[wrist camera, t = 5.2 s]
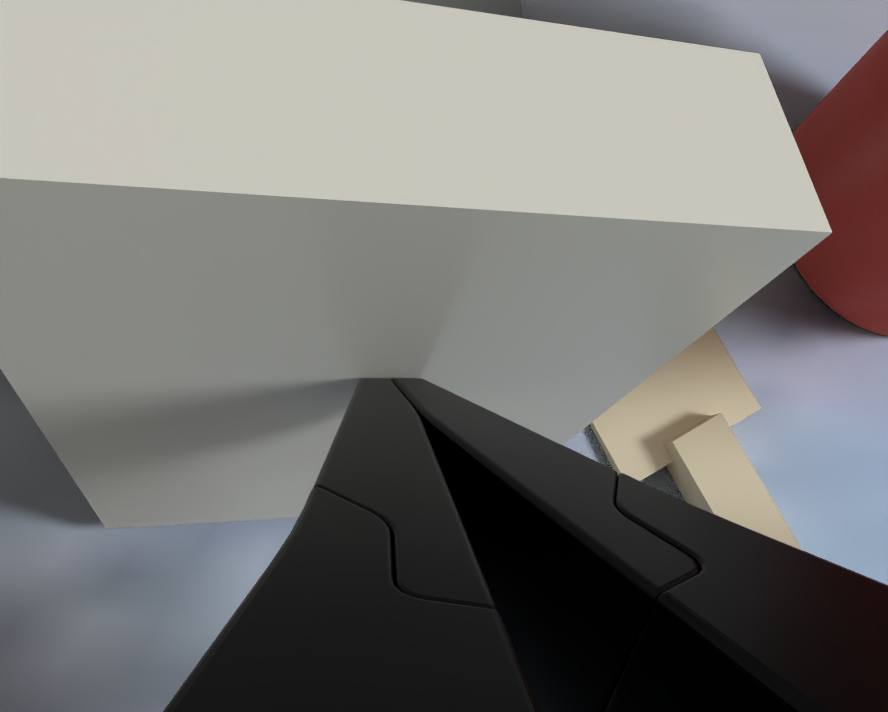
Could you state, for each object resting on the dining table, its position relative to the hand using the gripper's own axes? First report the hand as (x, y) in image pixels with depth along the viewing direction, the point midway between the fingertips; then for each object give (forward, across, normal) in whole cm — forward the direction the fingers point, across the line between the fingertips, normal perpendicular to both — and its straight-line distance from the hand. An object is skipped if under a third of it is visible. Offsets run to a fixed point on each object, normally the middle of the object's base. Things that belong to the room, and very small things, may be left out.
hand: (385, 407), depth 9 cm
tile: (+5, 0, -5) cm, 7 cm away
